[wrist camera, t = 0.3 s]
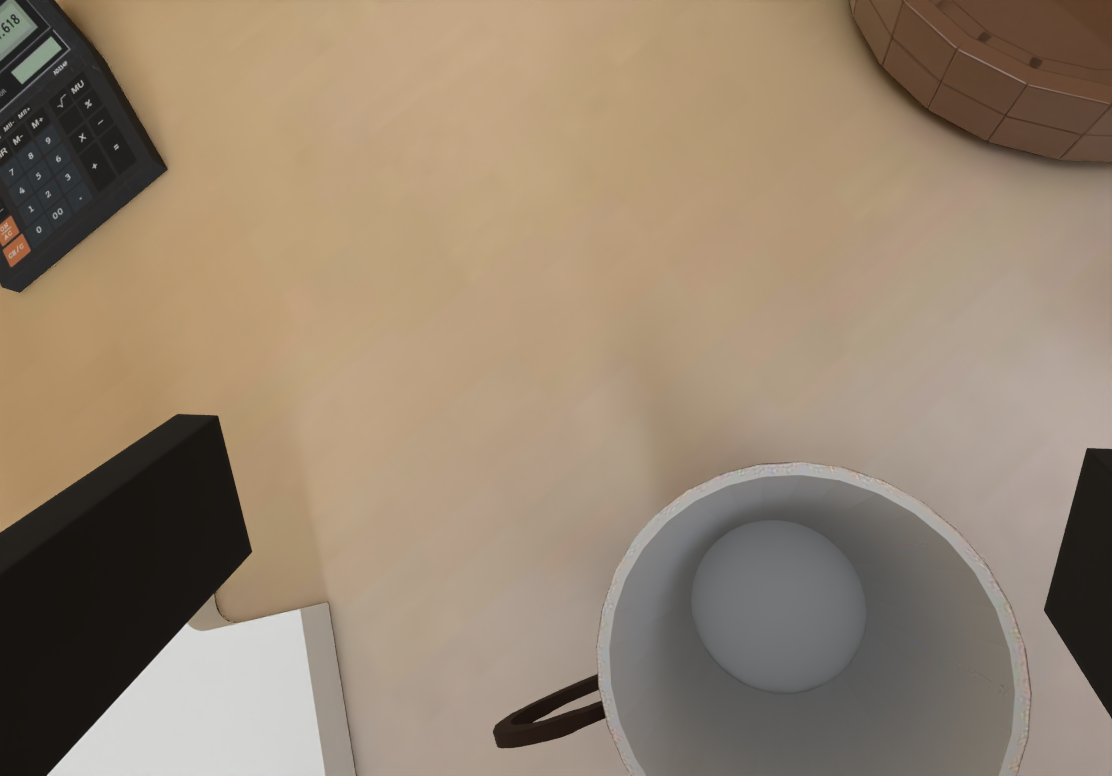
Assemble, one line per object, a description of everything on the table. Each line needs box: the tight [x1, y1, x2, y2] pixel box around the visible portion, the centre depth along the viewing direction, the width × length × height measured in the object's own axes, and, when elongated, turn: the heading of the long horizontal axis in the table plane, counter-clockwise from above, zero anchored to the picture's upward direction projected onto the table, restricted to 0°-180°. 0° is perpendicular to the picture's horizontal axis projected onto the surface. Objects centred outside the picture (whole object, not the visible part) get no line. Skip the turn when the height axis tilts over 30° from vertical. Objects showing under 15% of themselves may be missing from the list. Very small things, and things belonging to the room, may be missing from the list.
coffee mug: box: [493, 462, 1032, 776], centre depth 21 cm, size 12×9×10 cm
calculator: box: [0, 0, 167, 292], centre depth 34 cm, size 9×12×3 cm
